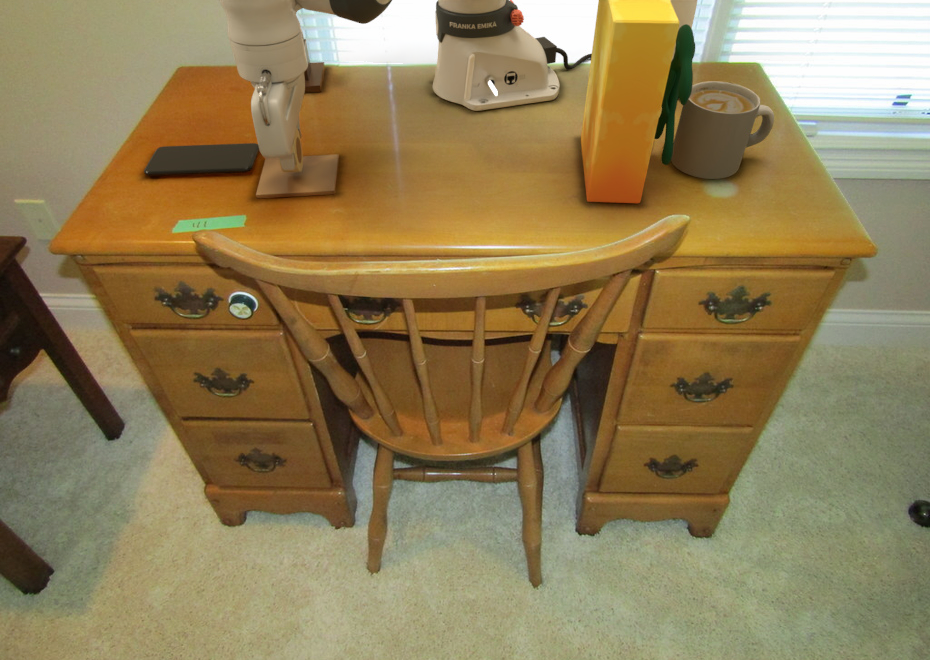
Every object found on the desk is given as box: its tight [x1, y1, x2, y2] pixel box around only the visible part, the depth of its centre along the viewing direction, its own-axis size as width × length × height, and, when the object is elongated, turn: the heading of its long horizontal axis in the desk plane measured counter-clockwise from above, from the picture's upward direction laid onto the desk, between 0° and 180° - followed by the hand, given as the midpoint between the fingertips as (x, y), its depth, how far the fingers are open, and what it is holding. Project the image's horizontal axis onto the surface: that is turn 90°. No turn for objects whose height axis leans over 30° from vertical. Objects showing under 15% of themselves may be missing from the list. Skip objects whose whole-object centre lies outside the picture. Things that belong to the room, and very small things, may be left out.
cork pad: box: [255, 153, 340, 199], centre depth 93 cm, size 11×10×1 cm
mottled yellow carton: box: [580, 0, 696, 204], centre depth 85 cm, size 18×12×24 cm
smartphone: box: [143, 142, 260, 177], centre depth 96 cm, size 8×1×16 cm
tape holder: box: [304, 38, 326, 94], centre depth 113 cm, size 10×10×6 cm
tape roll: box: [279, 128, 304, 172], centre depth 90 cm, size 2×6×6 cm, turn 5°
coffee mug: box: [670, 80, 775, 180], centre depth 91 cm, size 13×10×10 cm
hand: (292, 153), depth 90 cm, fingers closed on tape roll, 6 cm apart
